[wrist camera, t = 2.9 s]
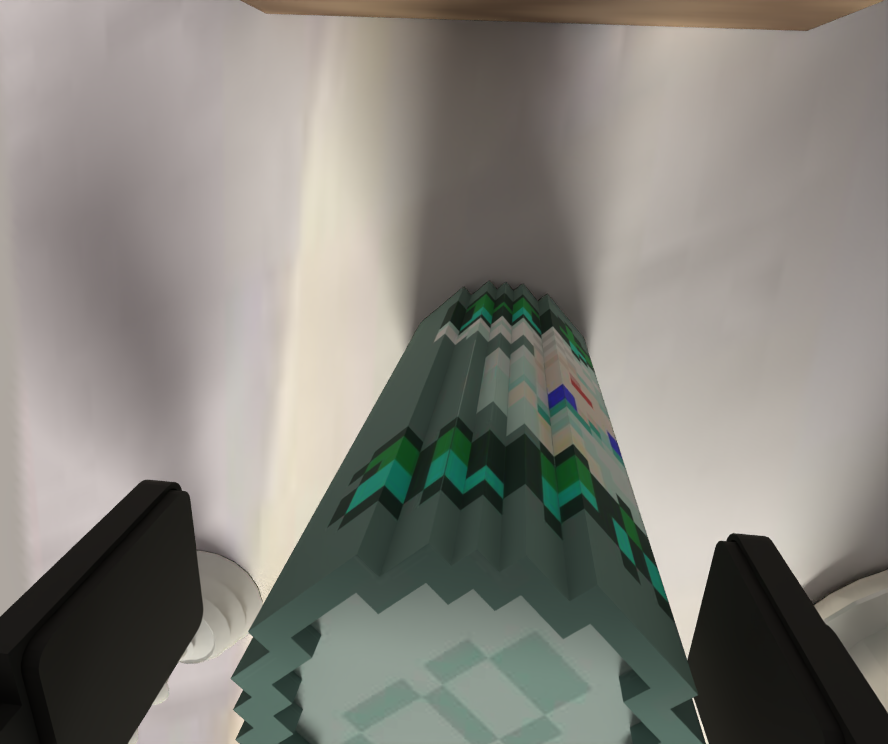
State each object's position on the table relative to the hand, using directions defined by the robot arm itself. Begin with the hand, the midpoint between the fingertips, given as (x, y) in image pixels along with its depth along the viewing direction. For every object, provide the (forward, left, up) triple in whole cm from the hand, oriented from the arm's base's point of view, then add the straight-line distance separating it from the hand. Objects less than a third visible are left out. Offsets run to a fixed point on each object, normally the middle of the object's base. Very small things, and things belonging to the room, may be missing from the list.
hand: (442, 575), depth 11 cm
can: (-1, 0, -12) cm, 12 cm away
